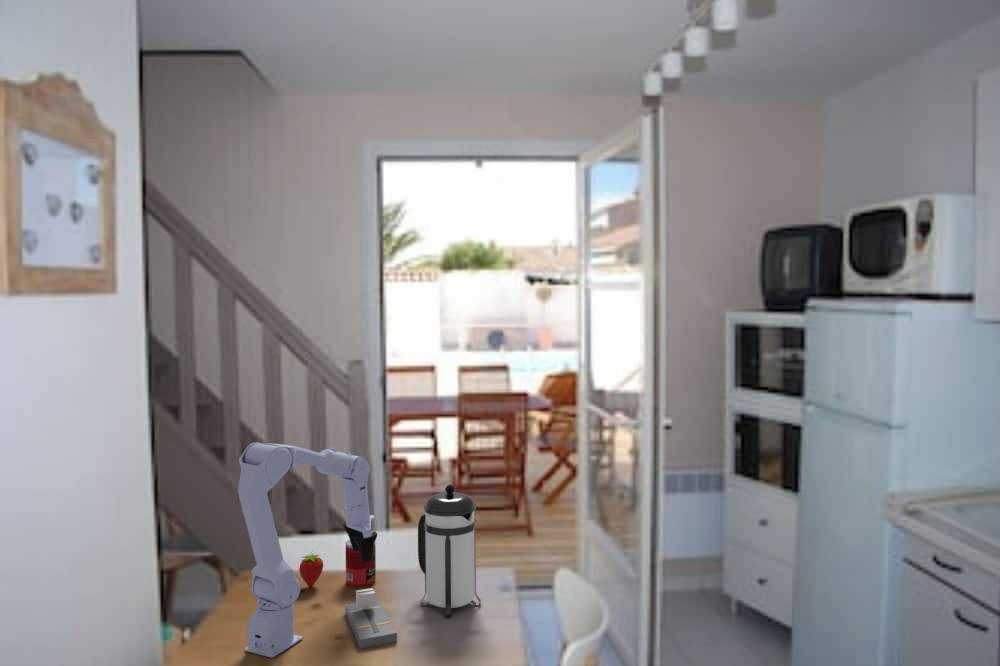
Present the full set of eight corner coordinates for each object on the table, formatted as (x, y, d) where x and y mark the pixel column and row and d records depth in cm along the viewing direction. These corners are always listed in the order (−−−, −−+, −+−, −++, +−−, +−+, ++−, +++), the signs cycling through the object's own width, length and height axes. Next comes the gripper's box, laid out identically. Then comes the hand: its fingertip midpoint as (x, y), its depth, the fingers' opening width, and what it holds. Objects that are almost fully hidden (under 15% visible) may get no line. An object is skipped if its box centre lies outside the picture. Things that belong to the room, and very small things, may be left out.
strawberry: (327, 581, 183) (327, 545, 182) (316, 593, 175) (316, 554, 175) (306, 580, 183) (306, 544, 183) (295, 592, 176) (294, 554, 176)
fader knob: (375, 609, 160) (375, 592, 160) (358, 612, 158) (358, 595, 158) (372, 604, 162) (372, 587, 162) (356, 607, 161) (355, 590, 161)
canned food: (372, 587, 178) (372, 546, 178) (342, 587, 179) (342, 546, 178) (378, 576, 186) (378, 537, 186) (349, 576, 186) (349, 537, 186)
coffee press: (484, 592, 175) (484, 477, 174) (476, 619, 159) (475, 493, 158) (419, 590, 177) (418, 475, 176) (404, 617, 161) (403, 491, 160)
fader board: (397, 641, 148) (396, 632, 148) (360, 648, 145) (360, 639, 145) (378, 607, 166) (378, 599, 166) (345, 613, 163) (345, 604, 163)
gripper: (381, 507, 162) (387, 561, 164) (363, 491, 175) (368, 541, 177) (353, 515, 159) (359, 569, 161) (336, 497, 172) (342, 548, 173)
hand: (362, 555), depth 168 cm, fingers open, 7 cm apart
